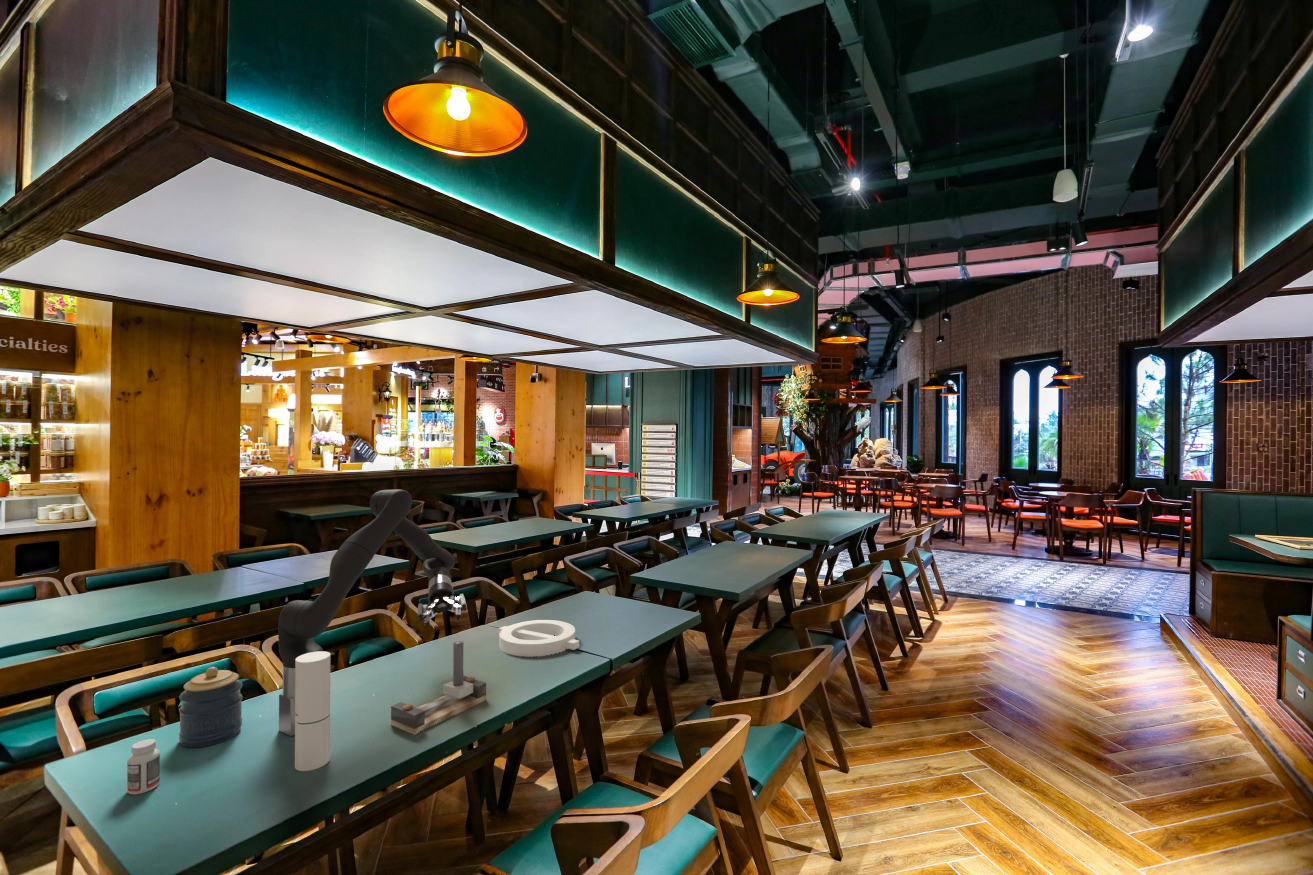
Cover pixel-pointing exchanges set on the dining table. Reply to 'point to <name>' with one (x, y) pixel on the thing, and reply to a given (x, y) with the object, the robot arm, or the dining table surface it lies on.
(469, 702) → the rail
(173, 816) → the dining table surface
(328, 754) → the cylindrical container
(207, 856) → the dining table surface
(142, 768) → the pill bottle
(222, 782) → the dining table surface
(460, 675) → the carriage
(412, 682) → the dining table surface
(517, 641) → the white circle with bar
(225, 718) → the canister
